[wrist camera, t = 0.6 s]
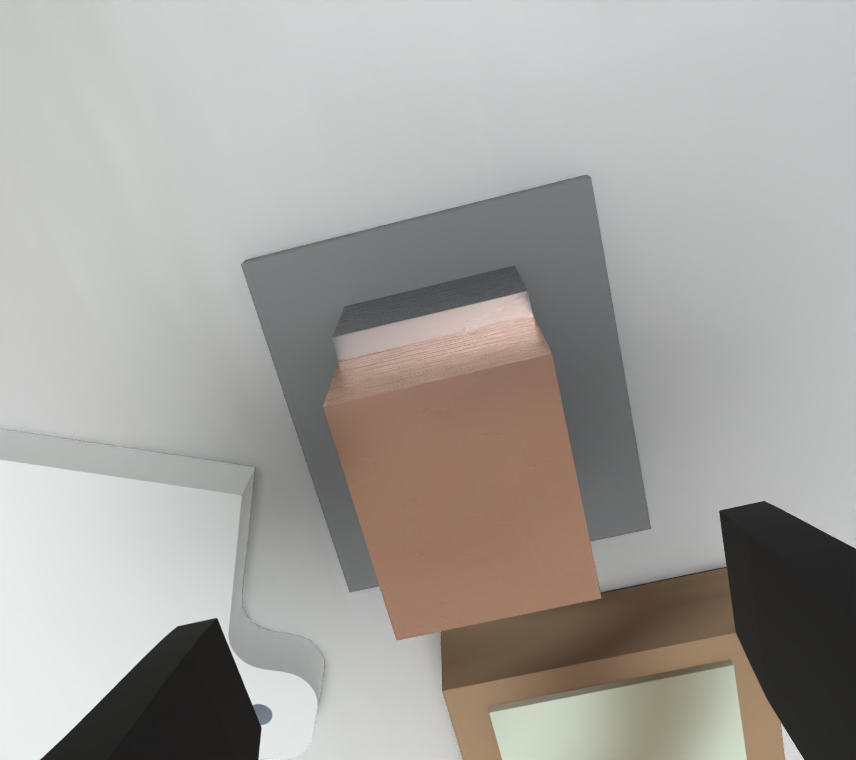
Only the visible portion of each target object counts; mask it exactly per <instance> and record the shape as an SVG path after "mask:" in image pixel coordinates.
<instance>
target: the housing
mask: <svg viewBox="0 0 856 760" xmlns="http://www.w3.org/2000/svg"><path fill="white" fill-rule="evenodd" d="M332 340H333V343H334V347H335V350H336V353H337V357H338V360H339V361H338V364H337V367H336V370H335V373H334V376H333V379H332V382H331V385H330V388H329V391H328V394H327V397H326V399H325V402H324V405H323V408H324V411H325V415H326V418H327V421H328V424H329V427H330V431H331V434H332V437H333V440H334V443H335V446H336V450H337V453H338V456H339V459H340V462H341V465H342V469H343V472H344V475H345V478H346V481H347V484H348V488H349V491H350V494H351V497H352V500H353V503H354V507H355V510H356V513H357V516H358V519H359V523H360V526H361V529H362V532H363V535H364V538H365V542H366V545H367V548H368V551H369V554H370V557H371V561H372V564H373V567H374V570H375V573H376V576H377V580H378V583H379V586H380V589H381V592H382V595H383V599H384V602H385V605H386V608H387V611H388V615H389V618H390V621H391V624H392V627H393V630H394V634H395V637H396V640H401V639H406V638H410V637H415V636H420V635H425V634H430V633H435V632H440V631H445V630H449V629H454V628H459V627H464V626H469V625H474V624H479V623H484V622H488V621H493V620H498V619H503V618H508V617H513V616H518V615H523V614H528V613H532V612H537V611H542V610H547V609H552V608H557V607H562V606H567V605H571V604H576V603H581V602H586V601H591V600H596V599H601V593H600V588H599V583H598V578H597V574H596V569H595V564H594V559H593V554H592V549H591V544H590V539H589V534H588V529H587V524H586V519H585V514H584V509H583V504H582V499H581V495H580V490H579V485H578V480H577V475H576V470H575V465H574V460H573V455H572V450H571V445H570V440H569V435H568V430H567V425H566V420H565V416H564V411H563V406H562V401H561V396H560V391H559V386H558V381H557V376H556V371H555V366H554V361H553V356H552V353H551V351H550V349H549V347H548V344H547V342H546V340H545V338H544V336H543V334H542V332H541V330H540V328H539V326H538V324H537V322H536V320H535V318H534V316H533V312H532V308H531V303H530V298H529V293H528V290H527V288H526V286H525V284H524V282H523V280H522V278H521V276H520V274H519V273H518V271H517V269H516V267H515V265H513V266H509V267H505V268H501V269H497V270H493V271H489V272H485V273H480V274H476V275H472V276H468V277H464V278H460V279H456V280H452V281H447V282H443V283H439V284H435V285H431V286H427V287H423V288H419V289H415V290H410V291H406V292H402V293H398V294H394V295H390V296H386V297H382V298H377V299H373V300H369V301H365V302H361V303H357V304H353V305H349V306H344V309H343V311H342V314H341V316H340V319H339V321H338V324H337V326H336V329H335V331H334V334H333V336H332Z"/></svg>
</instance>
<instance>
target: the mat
mask: <svg viewBox="0 0 856 760" xmlns="http://www.w3.org/2000/svg"><path fill="white" fill-rule="evenodd" d="M513 265H515V267H516V269H517V271H518V273H519V274H520V276H521V278H522V280H523V282H524V284H525V286H526V288H527V290H528V293H529V298H530V303H531V308H532V312H533V316H534V318H535V320H536V322H537V324H538V326H539V328H540V330H541V332H542V334H543V336H544V338H545V340H546V342H547V344H548V347H549V349H550V351H551V353H552V356H553V361H554V366H555V371H556V376H557V381H558V386H559V391H560V396H561V401H562V406H563V411H564V416H565V420H566V425H567V430H568V435H569V440H570V445H571V450H572V455H573V460H574V465H575V470H576V475H577V480H578V485H579V490H580V495H581V499H582V504H583V509H584V514H585V519H586V524H587V529H588V534H589V539H590V541H595V540H600V539H604V538H609V537H614V536H619V535H623V534H628V533H633V532H638V531H642V530H647V529H651V527H650V521H649V515H648V509H647V503H646V498H645V492H644V486H643V480H642V474H641V468H640V462H639V457H638V451H637V445H636V439H635V433H634V427H633V422H632V416H631V410H630V404H629V398H628V392H627V386H626V381H625V375H624V369H623V363H622V357H621V351H620V345H619V340H618V334H617V328H616V322H615V316H614V310H613V305H612V299H611V293H610V287H609V281H608V275H607V269H606V264H605V258H604V252H603V246H602V240H601V234H600V229H599V223H598V217H597V211H596V205H595V199H594V193H593V188H592V182H591V177H589V176H587V175H584V176H580V177H576V178H572V179H568V180H564V181H560V182H556V183H552V184H548V185H544V186H540V187H536V188H532V189H528V190H524V191H520V192H516V193H512V194H508V195H504V196H500V197H496V198H492V199H488V200H484V201H480V202H476V203H472V204H468V205H464V206H460V207H456V208H452V209H448V210H444V211H440V212H436V213H432V214H428V215H424V216H420V217H416V218H412V219H408V220H404V221H400V222H396V223H392V224H388V225H384V226H380V227H376V228H372V229H368V230H364V231H360V232H356V233H352V234H348V235H344V236H340V237H336V238H332V239H328V240H324V241H320V242H316V243H312V244H308V245H305V246H301V247H297V248H293V249H289V250H285V251H281V252H277V253H273V254H269V255H265V256H261V257H257V258H253V259H249V260H246V261H244V262H243V263H242V264H241V266H242V269H243V272H244V275H245V278H246V281H247V284H248V287H249V290H250V293H251V296H252V299H253V302H254V305H255V308H256V311H257V314H258V317H259V320H260V323H261V326H262V329H263V332H264V335H265V338H266V341H267V344H268V347H269V350H270V353H271V356H272V359H273V362H274V365H275V368H276V371H277V374H278V377H279V380H280V383H281V386H282V389H283V392H284V396H285V399H286V402H287V405H288V408H289V411H290V414H291V417H292V420H293V423H294V426H295V429H296V432H297V435H298V438H299V441H300V444H301V447H302V450H303V453H304V456H305V459H306V462H307V465H308V468H309V471H310V474H311V477H312V480H313V483H314V486H315V489H316V492H317V495H318V498H319V501H320V504H321V507H322V510H323V513H324V516H325V519H326V522H327V525H328V528H329V531H330V534H331V537H332V540H333V543H334V546H335V549H336V552H337V555H338V558H339V561H340V564H341V567H342V570H343V573H344V576H345V579H346V583H347V586H348V589H349V592H353V591H358V590H363V589H368V588H372V587H377V586H379V583H378V580H377V576H376V573H375V570H374V567H373V564H372V561H371V557H370V554H369V551H368V548H367V545H366V542H365V538H364V535H363V532H362V529H361V526H360V523H359V519H358V516H357V513H356V510H355V507H354V503H353V500H352V497H351V494H350V491H349V488H348V484H347V481H346V478H345V475H344V472H343V469H342V465H341V462H340V459H339V456H338V453H337V450H336V446H335V443H334V440H333V437H332V434H331V431H330V427H329V424H328V421H327V418H326V415H325V411H324V408H323V405H324V402H325V399H326V397H327V394H328V391H329V388H330V385H331V382H332V379H333V376H334V373H335V370H336V367H337V364H338V361H339V360H338V357H337V353H336V350H335V347H334V343H333V340H332V336H333V334H334V331H335V329H336V326H337V324H338V321H339V319H340V316H341V314H342V311H343V309H344V306H349V305H353V304H357V303H361V302H365V301H369V300H373V299H377V298H382V297H386V296H390V295H394V294H398V293H402V292H406V291H410V290H415V289H419V288H423V287H427V286H431V285H435V284H439V283H443V282H447V281H452V280H456V279H460V278H464V277H468V276H472V275H476V274H480V273H485V272H489V271H493V270H497V269H501V268H505V267H509V266H513Z"/></svg>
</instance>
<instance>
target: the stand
mask: <svg viewBox="0 0 856 760" xmlns="http://www.w3.org/2000/svg"><path fill="white" fill-rule="evenodd" d="M441 655H442V691H443V695H444V698H445V702H446V705H447V708H448V712H449V715H450V718H451V722H452V725H453V728H454V732H455V735H456V738H457V742H458V745H459V748H460V752H461V755H462V758H463V760H785V756H784V747H783V739H782V730H781V722H780V720H779V718H778V716H777V715H776V713H775V712H774V710H773V708H772V707H771V705H770V703H769V702H768V700H767V698H766V696H765V694H764V692H763V690H762V688H761V686H760V684H759V682H758V680H757V677H756V675H755V673H754V671H753V669H752V667H751V665H750V663H749V660H748V658H747V656H746V654H745V652H744V650H743V647H742V645H741V643H740V641H739V639H738V637H737V634H736V631H735V624H734V616H733V609H732V602H731V594H730V587H729V580H728V572H727V568H722V569H717V570H713V571H708V572H703V573H698V574H693V575H688V576H683V577H678V578H674V579H669V580H664V581H659V582H654V583H649V584H644V585H640V586H635V587H630V588H625V589H620V590H615V591H610V592H605V593H601V599H596V600H591V601H586V602H581V603H576V604H571V605H567V606H562V607H557V608H552V609H547V610H542V611H537V612H532V613H528V614H523V615H518V616H513V617H508V618H503V619H498V620H493V621H488V622H484V623H479V624H474V625H469V626H464V627H459V628H454V629H449V630H445V631H441Z"/></svg>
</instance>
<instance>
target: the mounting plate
mask: <svg viewBox="0 0 856 760" xmlns="http://www.w3.org/2000/svg"><path fill="white" fill-rule="evenodd" d="M254 474H255V467H252V466H245V465H238V464H232V463H225V462H218V461H212V460H205V459H199V458H192V457H185V456H179V455H172V454H165V453H159V452H152V451H145V450H139V449H132V448H126V447H119V446H112V445H106V444H99V443H92V442H86V441H79V440H73V439H66V438H59V437H53V436H46V435H39V434H33V433H26V432H20V431H13V430H6V429H0V760H40V759H41V758H42V757H44V756H45V755H46V754H47V753H48V752H49V751H50V750H51V749H52V748H53V747H54V746H55V745H56V744H57V743H58V742H59V741H61V740H62V739H63V738H64V737H65V736H66V735H67V734H68V733H69V732H70V731H71V730H72V729H73V728H74V727H75V726H76V725H77V724H78V723H79V722H80V721H81V720H82V719H83V718H84V717H85V716H86V715H87V714H88V713H89V712H90V711H91V710H92V709H93V708H94V707H95V706H96V705H97V704H98V703H99V702H100V701H101V700H102V699H103V698H104V697H105V696H106V695H107V694H108V693H109V692H110V691H111V690H112V689H113V688H114V687H115V686H116V685H117V684H118V683H119V682H120V681H121V680H122V679H123V678H124V677H125V676H126V675H127V674H128V673H129V672H130V671H131V670H132V669H133V667H134V666H135V665H136V664H137V663H138V662H139V661H140V660H141V659H142V658H143V657H144V656H146V655H147V654H148V653H149V652H150V651H151V650H152V649H153V648H154V647H155V646H156V645H157V644H158V643H159V642H160V641H161V640H162V639H163V638H164V637H165V636H167V635H168V634H169V633H170V632H171V631H172V630H174V629H175V628H176V627H177V626H181V625H186V624H190V623H195V622H200V621H204V620H209V619H214V618H217V619H218V621H219V623H220V626H221V628H222V631H223V633H224V636H225V638H226V641H227V643H228V646H229V648H230V651H231V653H232V656H233V658H234V661H235V663H236V665H237V668H238V670H239V673H240V675H241V678H242V680H243V683H244V685H245V688H246V690H247V693H248V695H249V698H250V700H251V703H252V705H253V707H254V710H255V712H256V715H257V717H258V720H259V722H260V725H261V727H262V729H261V739H260V748H259V758H260V759H267V760H287V759H292V758H294V757H296V756H299V755H300V754H302V753H303V752H304V751H305V750H306V749H307V748H308V747H309V745H310V744H311V741H312V738H313V734H314V728H315V722H316V717H317V711H318V706H319V700H320V694H321V688H322V681H323V674H324V658H323V655H322V653H321V651H320V650H319V648H318V647H317V646H316V645H315V644H314V643H312V642H311V641H310V640H308V639H306V638H304V637H302V636H298V635H294V634H287V633H279V632H273V631H269V630H265V629H263V628H261V627H259V626H257V625H256V624H255V623H254V622H252V621H251V620H250V619H249V617H248V616H247V615H246V613H245V611H244V608H243V606H242V590H243V580H244V570H245V561H246V551H247V541H248V532H249V522H250V513H251V503H252V493H253V484H254Z"/></svg>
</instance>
